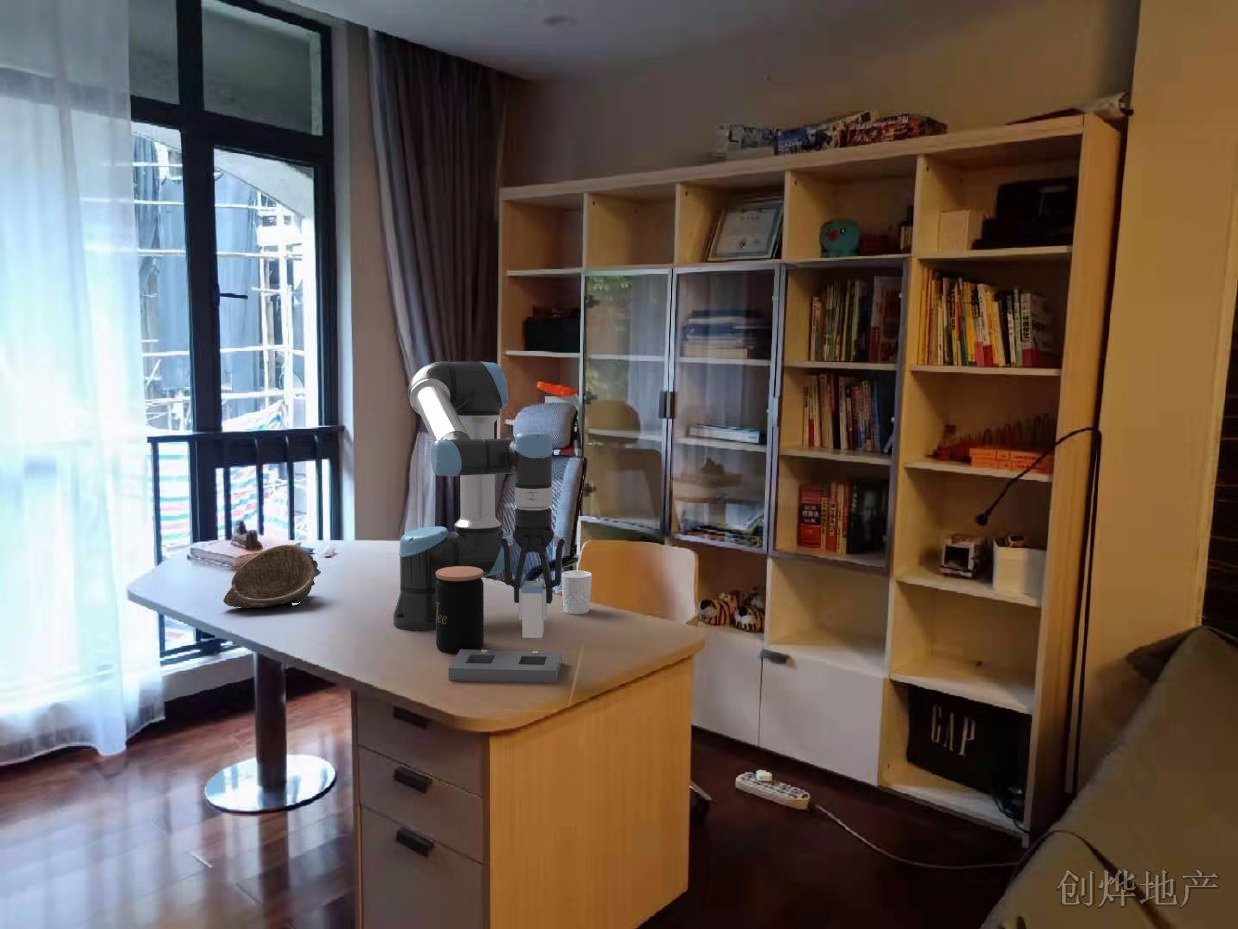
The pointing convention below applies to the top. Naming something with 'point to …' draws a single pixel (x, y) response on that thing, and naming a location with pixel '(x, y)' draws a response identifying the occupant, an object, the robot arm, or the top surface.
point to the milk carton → (532, 609)
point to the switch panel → (505, 666)
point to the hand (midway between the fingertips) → (533, 618)
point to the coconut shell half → (273, 578)
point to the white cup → (576, 591)
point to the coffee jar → (459, 609)
